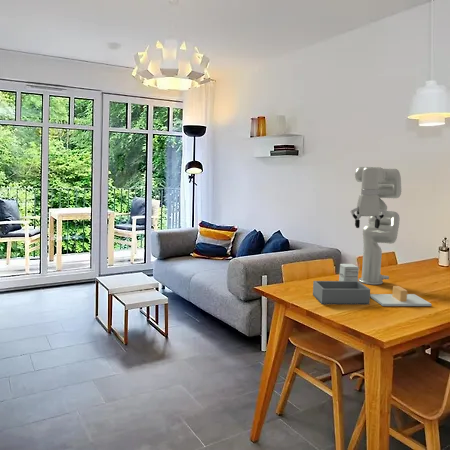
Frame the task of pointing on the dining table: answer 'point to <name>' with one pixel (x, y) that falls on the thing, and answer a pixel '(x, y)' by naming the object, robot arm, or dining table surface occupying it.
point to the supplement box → (348, 272)
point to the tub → (341, 292)
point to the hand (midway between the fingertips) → (367, 227)
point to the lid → (399, 298)
